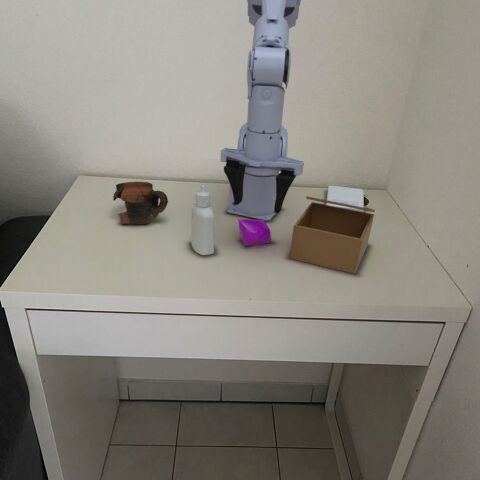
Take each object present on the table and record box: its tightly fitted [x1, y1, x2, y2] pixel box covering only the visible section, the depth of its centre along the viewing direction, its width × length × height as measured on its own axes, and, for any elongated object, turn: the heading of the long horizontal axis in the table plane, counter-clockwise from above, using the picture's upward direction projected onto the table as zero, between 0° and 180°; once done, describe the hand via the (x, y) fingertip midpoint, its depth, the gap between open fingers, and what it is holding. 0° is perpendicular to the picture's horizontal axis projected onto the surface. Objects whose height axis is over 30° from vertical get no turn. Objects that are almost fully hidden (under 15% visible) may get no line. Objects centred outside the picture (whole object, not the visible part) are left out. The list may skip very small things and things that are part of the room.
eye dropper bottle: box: [190, 184, 216, 256], centre depth 87 cm, size 4×6×12 cm
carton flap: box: [305, 195, 376, 213], centre depth 90 cm, size 6×12×1 cm, turn 68°
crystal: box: [237, 218, 272, 246], centre depth 93 cm, size 5×5×5 cm
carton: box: [289, 201, 375, 275], centre depth 90 cm, size 12×12×6 cm
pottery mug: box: [112, 181, 169, 225], centre depth 99 cm, size 12×10×8 cm
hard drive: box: [325, 185, 365, 212], centre depth 112 cm, size 2×8×12 cm
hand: (257, 206), depth 90 cm, fingers open, 7 cm apart
